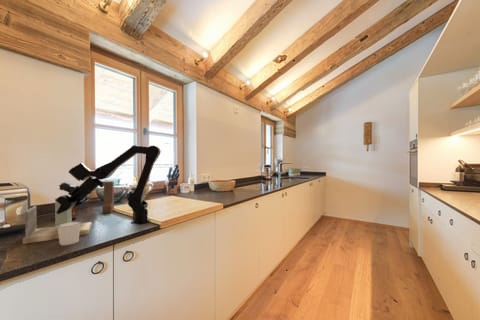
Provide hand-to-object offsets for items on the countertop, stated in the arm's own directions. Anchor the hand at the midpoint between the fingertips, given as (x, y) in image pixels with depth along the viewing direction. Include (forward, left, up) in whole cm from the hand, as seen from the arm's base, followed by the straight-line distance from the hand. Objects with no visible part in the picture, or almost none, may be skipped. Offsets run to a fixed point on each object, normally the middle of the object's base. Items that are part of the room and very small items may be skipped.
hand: (60, 212), depth 96 cm
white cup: (-23, +9, -7) cm, 26 cm away
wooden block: (+6, -28, -7) cm, 29 cm away
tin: (+15, -12, -7) cm, 20 cm away
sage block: (-1, -1, -7) cm, 7 cm away
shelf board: (-10, +5, -7) cm, 13 cm away
